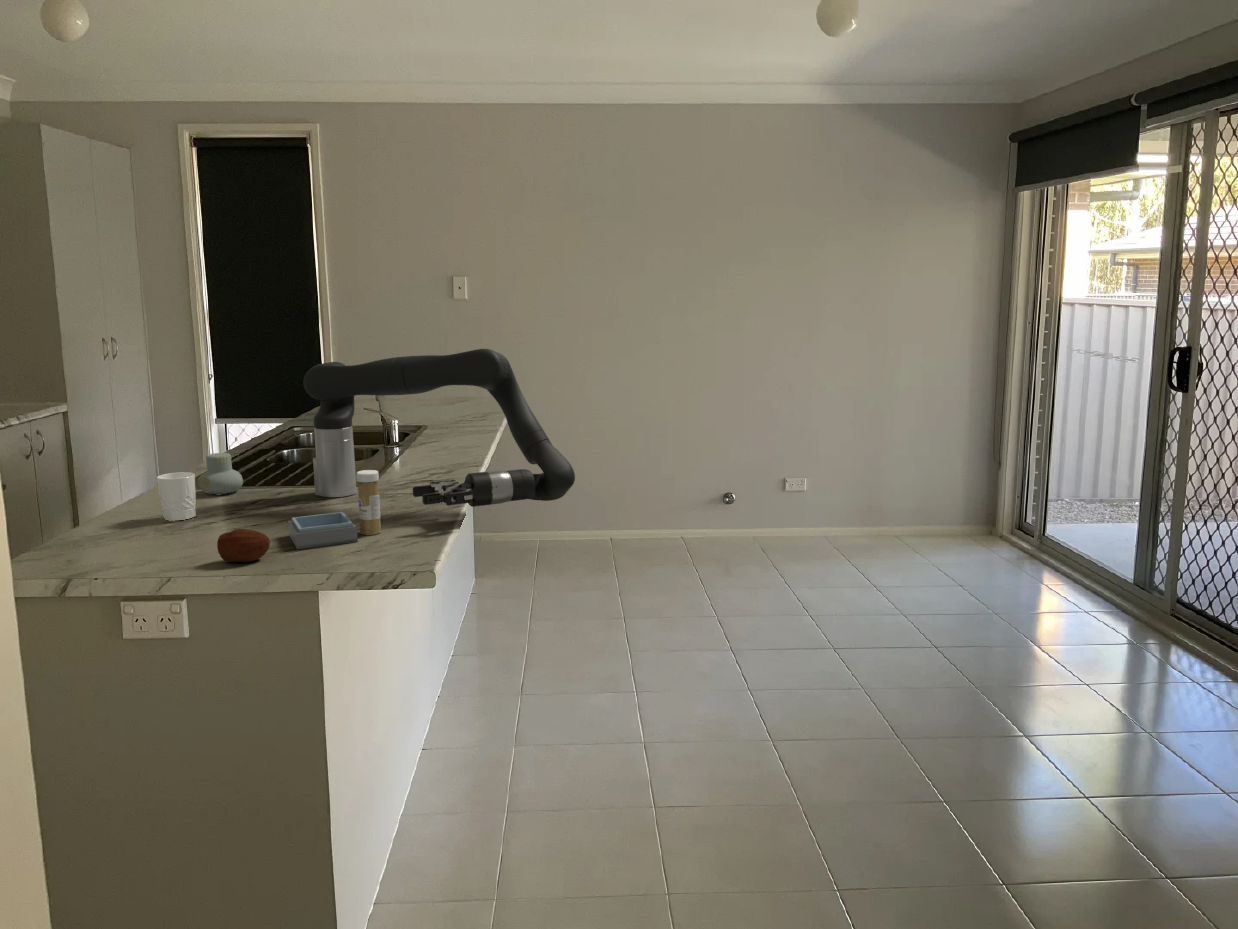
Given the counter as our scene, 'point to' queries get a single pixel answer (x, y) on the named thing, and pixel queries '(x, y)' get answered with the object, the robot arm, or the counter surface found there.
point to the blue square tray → (322, 530)
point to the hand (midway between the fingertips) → (417, 495)
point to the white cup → (177, 495)
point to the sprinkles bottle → (369, 502)
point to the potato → (242, 545)
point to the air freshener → (220, 475)
